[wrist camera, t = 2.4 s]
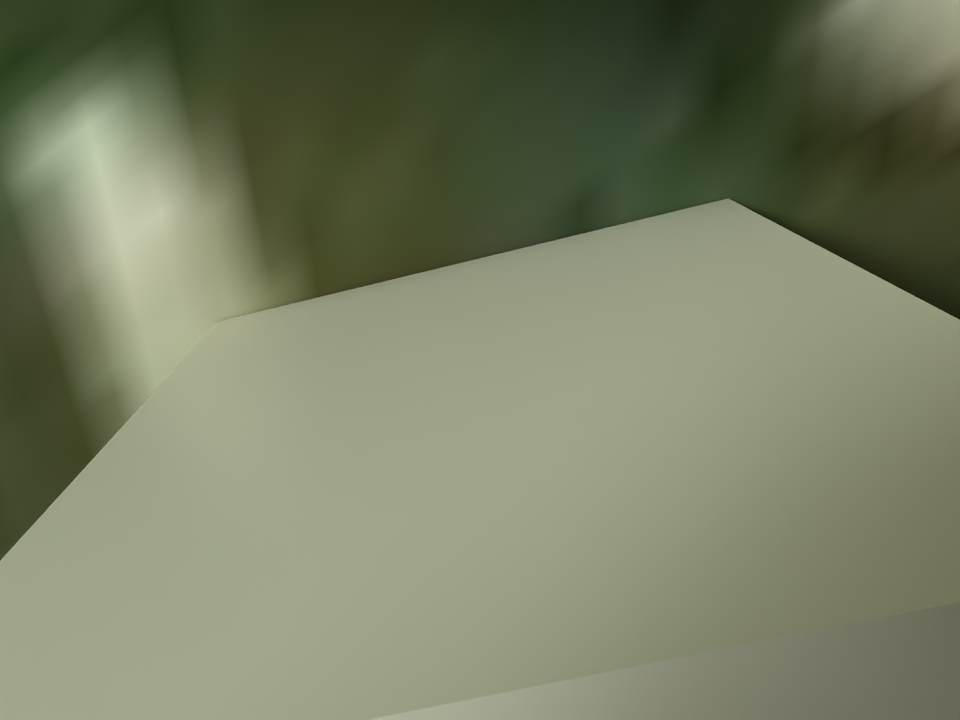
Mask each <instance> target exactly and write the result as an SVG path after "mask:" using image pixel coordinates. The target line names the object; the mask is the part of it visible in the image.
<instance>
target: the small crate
mask: <svg viewBox="0 0 960 720" xmlns="http://www.w3.org/2000/svg"><path fill="white" fill-rule="evenodd" d="M0 720H960V320H959V319H957V318H955V317H953V316H951V315H950V314H948V313H946V312H944V311H942V310H940V309H938V308H936V307H934V306H932V305H930V304H929V303H927V302H925V301H923V300H921V299H919V298H917V297H915V296H913V295H911V294H910V293H908V292H906V291H904V290H902V289H900V288H898V287H896V286H894V285H892V284H890V283H889V282H887V281H885V280H883V279H881V278H879V277H877V276H875V275H873V274H871V273H870V272H868V271H866V270H864V269H862V268H860V267H858V266H856V265H854V264H852V263H850V262H849V261H847V260H845V259H843V258H841V257H839V256H837V255H835V254H833V253H831V252H829V251H828V250H826V249H824V248H822V247H820V246H818V245H816V244H814V243H812V242H810V241H809V240H807V239H805V238H803V237H801V236H799V235H797V234H795V233H793V232H791V231H789V230H788V229H786V228H784V227H782V226H780V225H778V224H776V223H774V222H772V221H770V220H769V219H767V218H765V217H763V216H761V215H759V214H757V213H755V212H753V211H751V210H749V209H748V208H746V207H744V206H742V205H740V204H738V203H736V202H734V201H732V200H730V199H724V200H720V201H716V202H712V203H708V204H704V205H700V206H695V207H691V208H687V209H683V210H679V211H675V212H670V213H666V214H662V215H658V216H654V217H650V218H646V219H641V220H637V221H633V222H629V223H625V224H621V225H617V226H612V227H608V228H604V229H600V230H596V231H592V232H588V233H583V234H579V235H575V236H571V237H567V238H563V239H559V240H554V241H550V242H546V243H542V244H538V245H534V246H530V247H525V248H521V249H517V250H513V251H509V252H505V253H501V254H496V255H492V256H488V257H484V258H480V259H476V260H471V261H467V262H463V263H459V264H455V265H451V266H447V267H442V268H438V269H434V270H430V271H426V272H422V273H418V274H413V275H409V276H405V277H401V278H397V279H393V280H389V281H384V282H380V283H376V284H372V285H368V286H364V287H360V288H355V289H351V290H347V291H343V292H339V293H335V294H331V295H326V296H322V297H318V298H314V299H310V300H306V301H302V302H297V303H293V304H289V305H285V306H281V307H277V308H273V309H268V310H264V311H260V312H256V313H252V314H248V315H243V316H239V317H235V318H231V319H227V320H223V321H219V322H217V323H216V324H215V325H214V326H213V328H212V329H211V330H210V331H209V332H208V333H207V334H206V335H205V336H204V337H203V339H202V340H201V341H200V342H199V343H198V344H197V345H196V346H195V347H194V348H193V350H192V351H191V352H190V353H189V354H188V355H187V356H186V357H185V358H184V359H183V361H182V362H181V363H180V364H179V365H178V366H177V367H176V368H175V369H174V370H173V372H172V373H171V374H170V375H169V376H168V377H167V378H166V379H165V380H164V381H163V383H162V384H161V385H160V386H159V387H158V388H157V389H156V390H155V391H154V392H153V394H152V395H151V396H150V397H149V398H148V399H147V400H146V401H145V402H144V403H143V405H142V406H141V407H140V408H139V409H138V410H137V411H136V412H135V413H134V414H133V416H132V417H131V418H130V419H129V420H128V421H127V422H126V423H125V424H124V425H123V427H122V428H121V429H120V430H119V431H118V432H117V433H116V434H115V435H114V436H113V437H112V439H111V440H110V441H109V442H108V443H107V444H106V445H105V446H104V447H103V448H102V450H101V451H100V452H99V453H98V454H97V455H96V456H95V457H94V458H93V459H92V461H91V462H90V463H89V464H88V465H87V466H86V467H85V468H84V469H83V470H82V472H81V473H80V474H79V475H78V476H77V477H76V478H75V479H74V480H73V481H72V483H71V484H70V485H69V486H68V487H67V488H66V489H65V490H64V491H63V492H62V494H61V495H60V496H59V497H58V498H57V499H56V500H55V501H54V502H53V503H52V505H51V506H50V507H49V508H48V509H47V510H46V511H45V512H44V513H43V514H42V516H41V517H40V518H39V519H38V520H37V521H36V522H35V523H34V524H33V525H32V527H31V528H30V529H29V530H28V531H27V532H26V533H25V534H24V535H23V536H22V538H21V539H20V540H19V541H18V542H17V543H16V544H15V545H14V546H13V547H12V549H11V550H10V551H9V552H8V553H7V554H6V555H5V556H4V557H3V558H2V560H1V561H0Z"/></svg>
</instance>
